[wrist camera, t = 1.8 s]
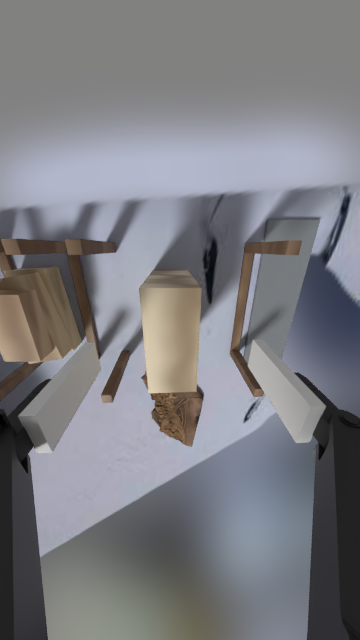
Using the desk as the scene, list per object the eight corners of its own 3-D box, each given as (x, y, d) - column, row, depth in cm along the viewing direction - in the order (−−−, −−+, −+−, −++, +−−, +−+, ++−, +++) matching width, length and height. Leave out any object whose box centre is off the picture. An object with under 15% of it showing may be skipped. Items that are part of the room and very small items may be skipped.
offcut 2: (52, 342, 29) (40, 353, 26) (22, 268, 24) (3, 271, 21) (83, 340, 29) (73, 350, 26) (59, 266, 24) (44, 268, 21)
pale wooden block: (156, 337, 29) (148, 393, 18) (153, 270, 25) (139, 288, 14) (186, 337, 29) (196, 391, 18) (187, 270, 25) (201, 287, 14)
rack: (39, 359, 29) (-18, 407, 20) (-5, 242, 22) (-122, 237, 13) (236, 353, 31) (263, 396, 22) (253, 243, 24) (302, 240, 15)
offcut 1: (21, 350, 22) (4, 361, 20) (-3, 288, 19) (-25, 294, 17) (53, 350, 22) (40, 361, 20) (35, 289, 19) (18, 295, 17)
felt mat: (241, 366, 32) (242, 368, 32) (267, 219, 23) (268, 219, 22) (278, 365, 32) (279, 367, 32) (317, 220, 23) (320, 219, 23)
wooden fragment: (136, 359, 31) (135, 362, 30) (198, 350, 31) (198, 354, 30) (161, 448, 41) (161, 452, 40) (207, 441, 41) (208, 446, 40)
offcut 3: (44, 351, 26) (28, 364, 23) (3, 278, 21) (-22, 282, 19) (74, 346, 26) (62, 358, 23) (38, 272, 21) (19, 275, 19)
